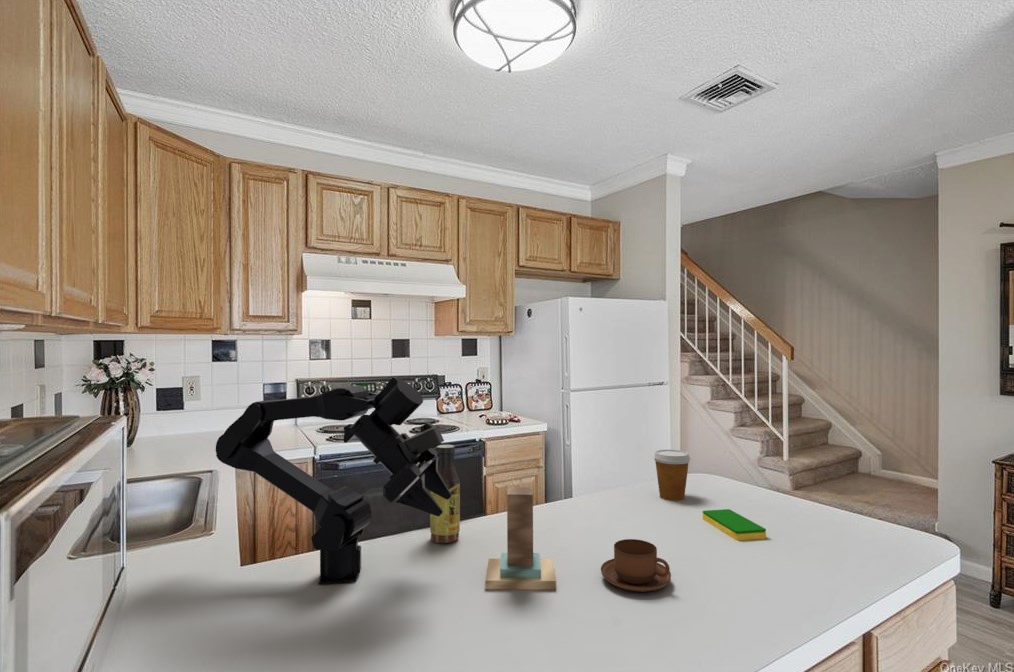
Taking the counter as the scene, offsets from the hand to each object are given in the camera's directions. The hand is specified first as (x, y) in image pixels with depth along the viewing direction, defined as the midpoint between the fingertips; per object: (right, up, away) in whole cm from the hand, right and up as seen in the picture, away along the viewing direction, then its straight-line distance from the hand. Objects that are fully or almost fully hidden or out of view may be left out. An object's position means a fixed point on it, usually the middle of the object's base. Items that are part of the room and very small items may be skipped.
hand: (445, 505), depth 93 cm
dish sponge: (+62, -14, +26) cm, 68 cm away
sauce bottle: (-2, -14, +20) cm, 24 cm away
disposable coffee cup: (+55, -14, +49) cm, 75 cm away
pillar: (+13, -10, +1) cm, 17 cm away
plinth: (+13, -13, +1) cm, 19 cm away
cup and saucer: (+33, -14, 0) cm, 36 cm away
